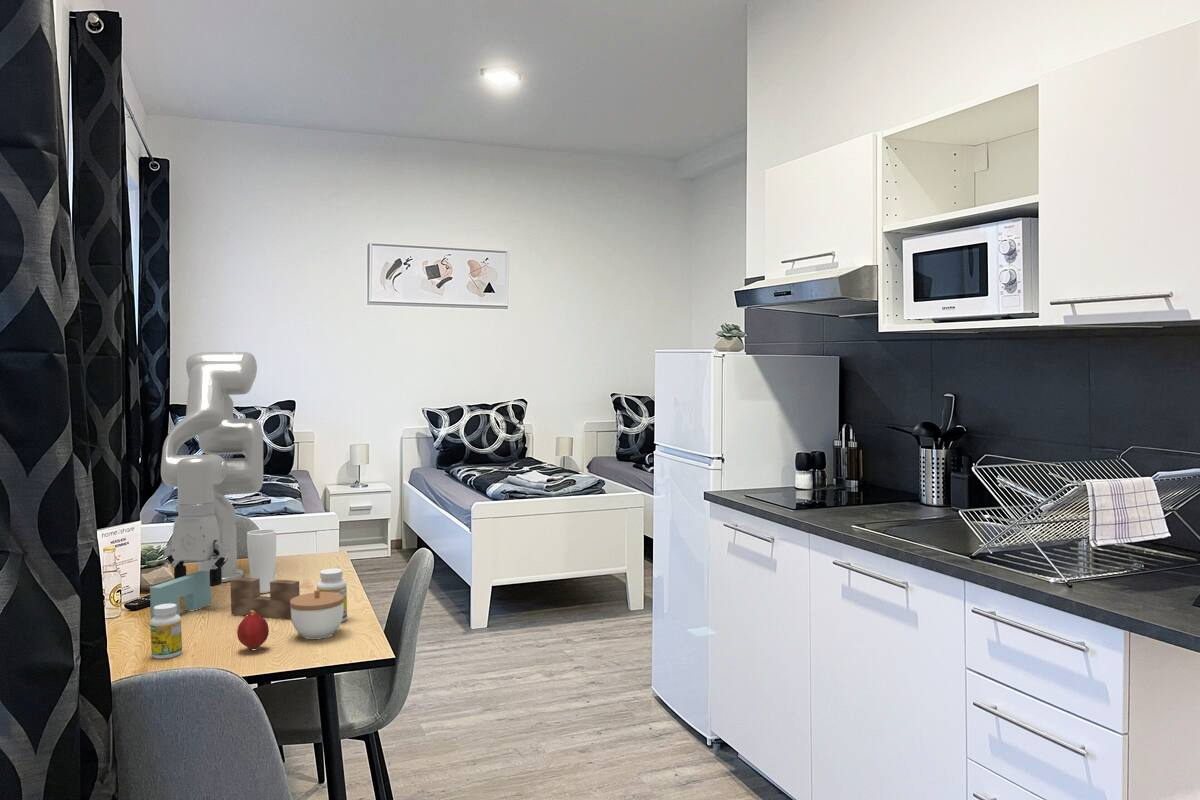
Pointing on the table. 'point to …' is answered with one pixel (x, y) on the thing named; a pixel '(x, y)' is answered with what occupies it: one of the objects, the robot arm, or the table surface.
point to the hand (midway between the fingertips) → (198, 584)
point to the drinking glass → (262, 556)
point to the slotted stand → (263, 597)
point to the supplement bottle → (166, 632)
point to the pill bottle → (334, 585)
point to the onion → (253, 630)
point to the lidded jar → (317, 613)
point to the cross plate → (183, 592)
